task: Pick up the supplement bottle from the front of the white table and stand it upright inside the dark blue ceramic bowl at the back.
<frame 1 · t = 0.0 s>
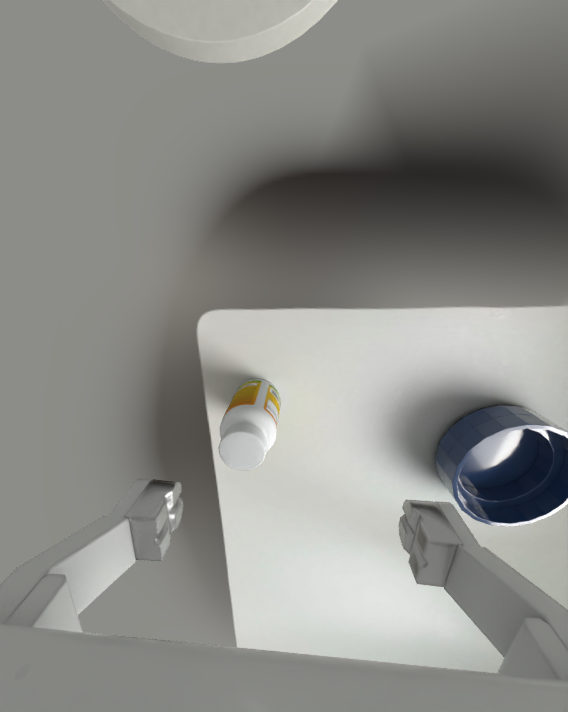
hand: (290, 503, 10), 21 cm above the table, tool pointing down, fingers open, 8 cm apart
supplement bottle: (258, 398, 32), on the table
blue bowl: (489, 451, 32), on the table
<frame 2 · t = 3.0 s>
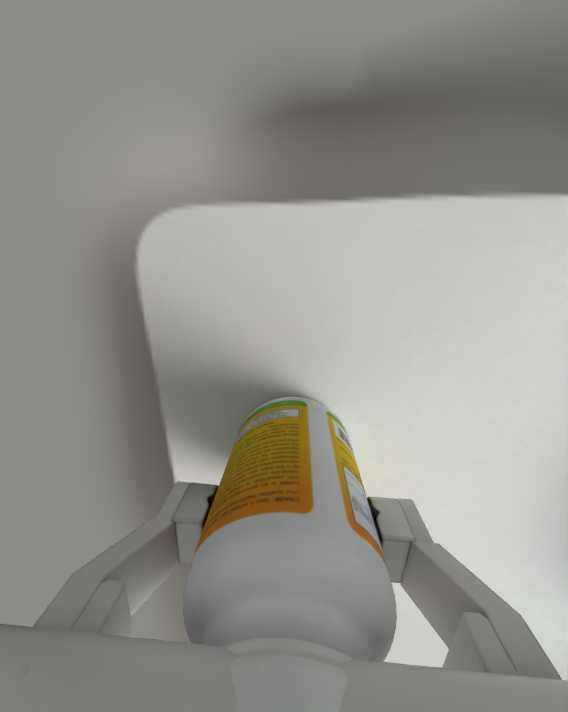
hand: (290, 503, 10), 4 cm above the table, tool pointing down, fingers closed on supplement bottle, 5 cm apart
supplement bottle: (293, 440, 13), on the table, touching gripper
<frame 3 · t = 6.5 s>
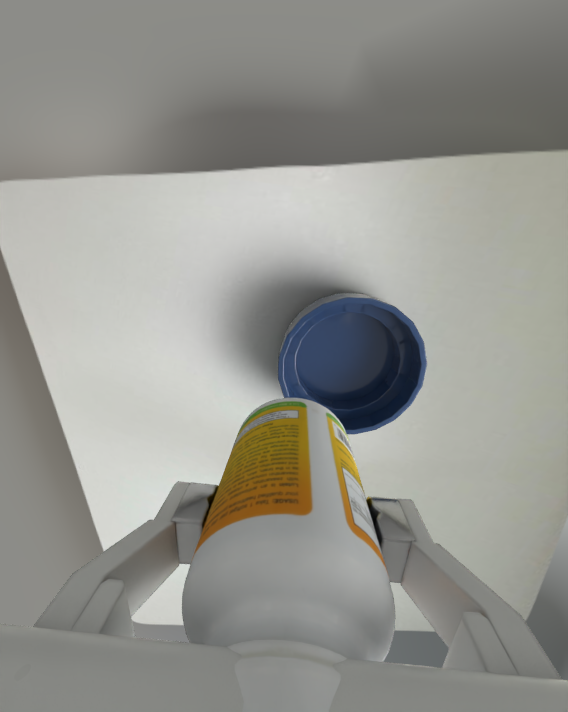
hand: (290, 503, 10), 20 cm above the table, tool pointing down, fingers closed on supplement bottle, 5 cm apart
supplement bottle: (292, 441, 13), point 16 cm above the table, touching gripper
blue bowl: (343, 355, 28), on the table
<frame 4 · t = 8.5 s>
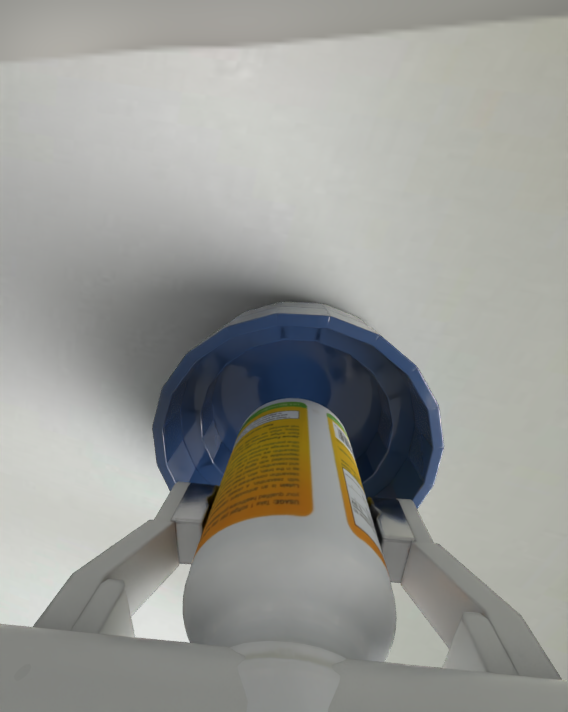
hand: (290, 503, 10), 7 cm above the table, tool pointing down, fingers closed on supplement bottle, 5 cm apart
supplement bottle: (293, 441, 13), point 3 cm above the table, touching gripper
blue bowl: (295, 408, 17), on the table
when the fingers open (4 cm above the table, at t = 9.9 s): supplement bottle stays where it is, resting on blue bowl.
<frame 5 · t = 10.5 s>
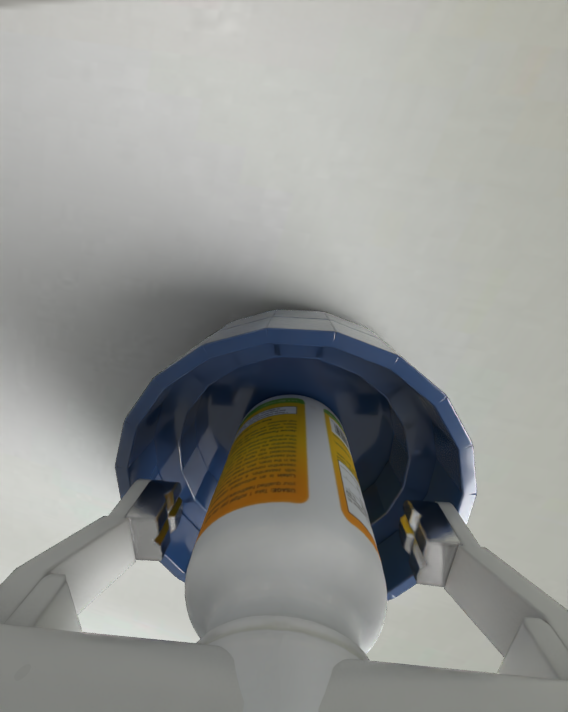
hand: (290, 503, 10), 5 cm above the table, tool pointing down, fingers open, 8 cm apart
supplement bottle: (291, 437, 14), resting on blue bowl
blue bowl: (292, 431, 14), on the table
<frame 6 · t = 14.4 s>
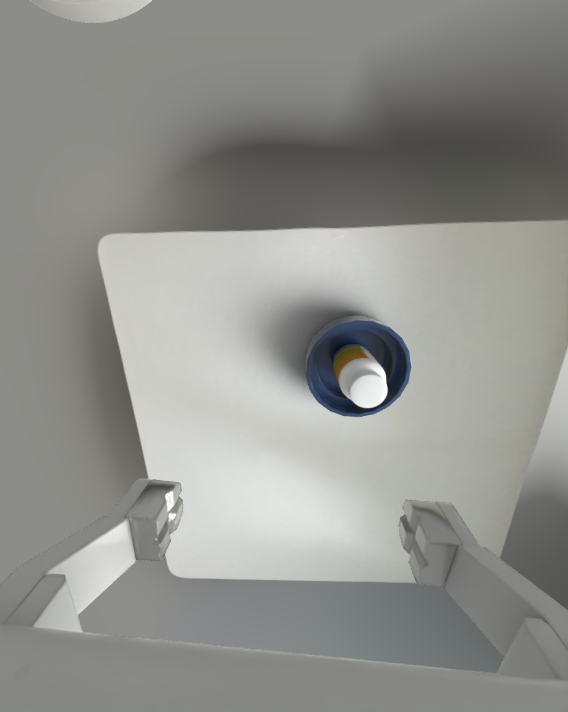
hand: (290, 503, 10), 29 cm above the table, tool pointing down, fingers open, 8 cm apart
supplement bottle: (351, 361, 38), resting on blue bowl
blue bowl: (351, 360, 38), on the table
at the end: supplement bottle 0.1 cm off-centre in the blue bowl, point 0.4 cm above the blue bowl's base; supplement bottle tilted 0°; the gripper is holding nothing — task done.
